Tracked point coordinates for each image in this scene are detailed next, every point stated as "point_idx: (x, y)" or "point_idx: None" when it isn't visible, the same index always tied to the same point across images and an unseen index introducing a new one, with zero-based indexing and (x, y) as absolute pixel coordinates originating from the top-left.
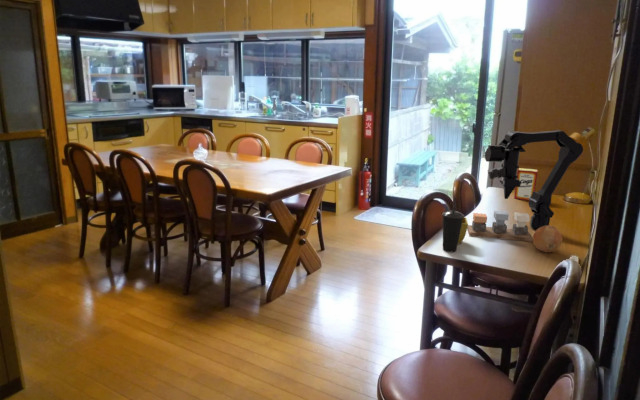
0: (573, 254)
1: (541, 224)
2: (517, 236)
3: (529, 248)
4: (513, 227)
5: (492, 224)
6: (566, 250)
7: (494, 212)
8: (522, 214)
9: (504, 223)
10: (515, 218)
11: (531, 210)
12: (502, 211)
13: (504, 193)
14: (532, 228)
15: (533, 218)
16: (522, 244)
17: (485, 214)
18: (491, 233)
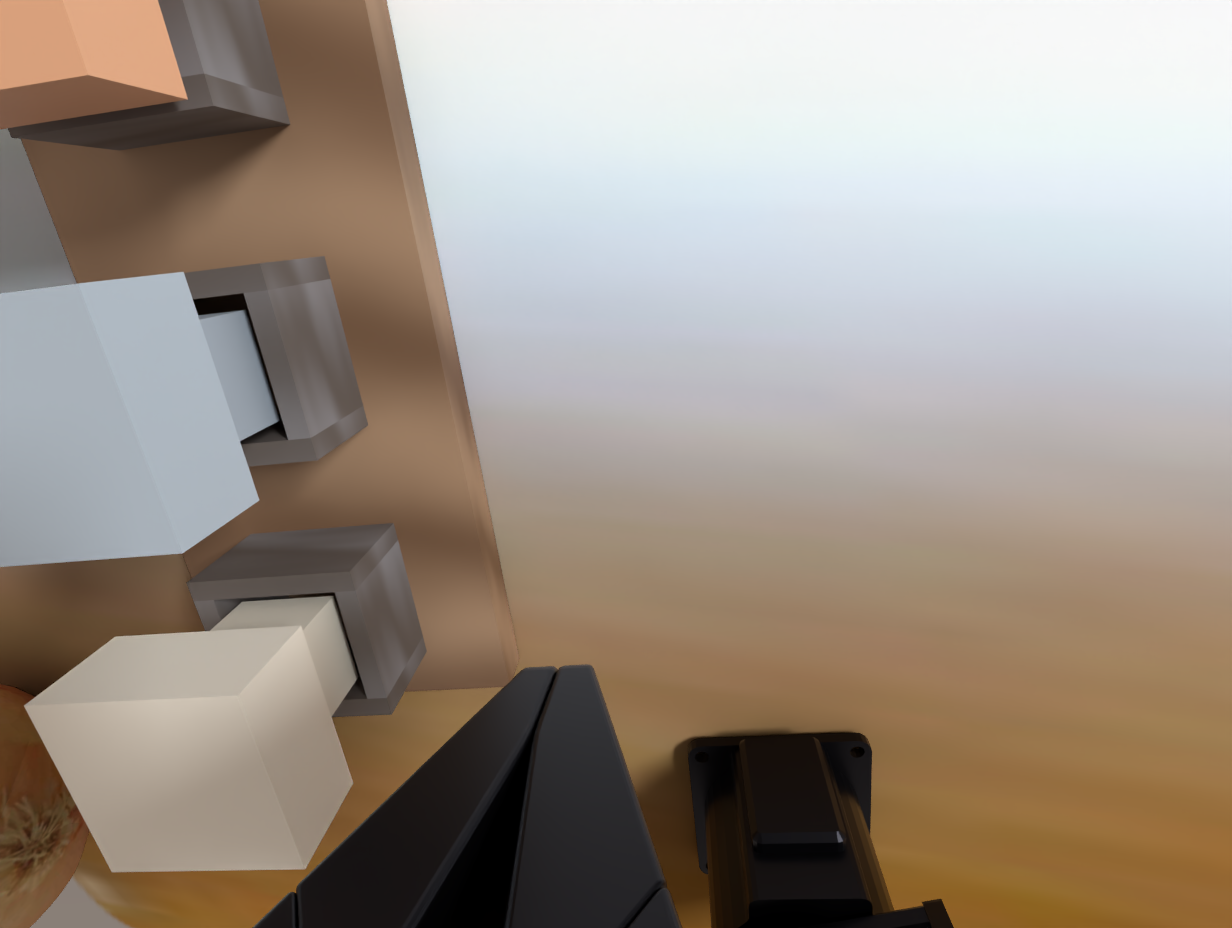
0: (118, 895)
1: (707, 860)
2: (186, 557)
3: (25, 618)
4: (324, 554)
5: (285, 260)
6: (186, 873)
7: (52, 287)
8: (165, 791)
9: (289, 450)
10: (181, 645)
11: (946, 914)
12: (133, 471)
13: (436, 794)
14: (728, 739)
15: (754, 843)
16: (104, 572)
17: (44, 71)
18: (95, 243)
